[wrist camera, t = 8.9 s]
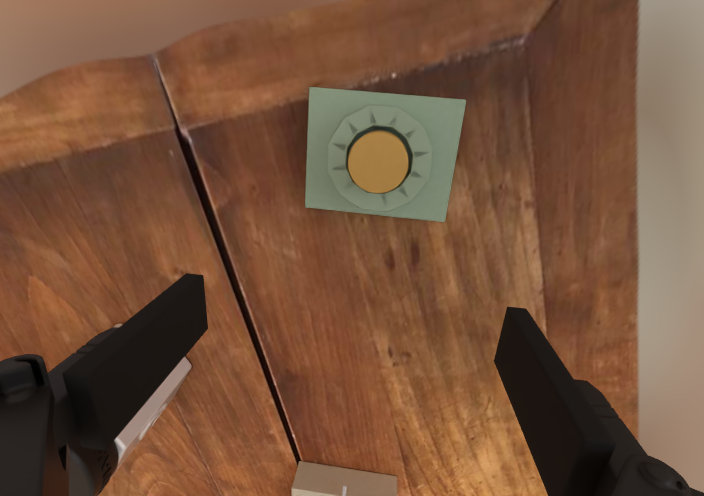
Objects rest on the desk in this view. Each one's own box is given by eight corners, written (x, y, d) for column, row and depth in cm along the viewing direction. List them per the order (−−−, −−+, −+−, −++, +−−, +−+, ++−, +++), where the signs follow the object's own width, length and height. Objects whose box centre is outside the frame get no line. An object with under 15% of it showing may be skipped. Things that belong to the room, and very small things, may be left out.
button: (411, 133, 23) (412, 134, 21) (403, 190, 24) (404, 196, 22) (353, 127, 23) (350, 129, 21) (348, 185, 24) (345, 190, 23)
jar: (169, 410, 37) (72, 538, 26) (95, 369, 36) (-38, 483, 25) (204, 350, 34) (111, 466, 23) (125, 304, 33) (-12, 401, 22)
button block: (462, 100, 25) (472, 98, 21) (442, 216, 27) (448, 230, 24) (314, 88, 25) (302, 84, 22) (309, 202, 28) (298, 214, 25)
